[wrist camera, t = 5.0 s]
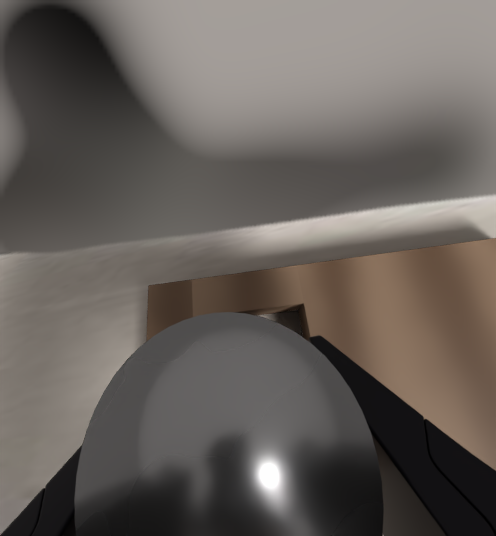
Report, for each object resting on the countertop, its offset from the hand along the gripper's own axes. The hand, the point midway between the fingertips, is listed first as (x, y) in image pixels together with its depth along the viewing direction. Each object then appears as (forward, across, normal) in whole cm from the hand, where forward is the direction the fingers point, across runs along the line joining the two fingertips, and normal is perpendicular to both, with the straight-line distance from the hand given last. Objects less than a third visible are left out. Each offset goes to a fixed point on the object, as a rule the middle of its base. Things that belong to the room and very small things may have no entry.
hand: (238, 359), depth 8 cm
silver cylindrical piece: (+4, 0, +6) cm, 7 cm away
